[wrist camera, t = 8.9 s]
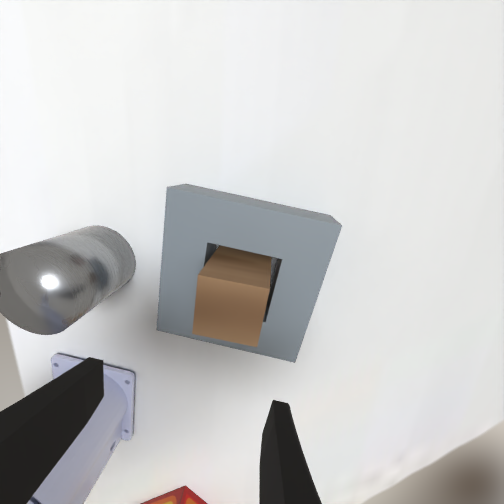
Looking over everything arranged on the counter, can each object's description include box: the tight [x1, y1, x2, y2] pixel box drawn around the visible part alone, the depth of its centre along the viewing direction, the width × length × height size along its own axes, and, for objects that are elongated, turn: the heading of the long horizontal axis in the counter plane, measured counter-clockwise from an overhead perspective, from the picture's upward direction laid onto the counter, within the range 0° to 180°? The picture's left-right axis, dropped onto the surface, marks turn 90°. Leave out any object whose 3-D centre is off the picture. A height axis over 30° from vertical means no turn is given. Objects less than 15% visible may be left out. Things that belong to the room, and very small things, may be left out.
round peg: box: [0, 226, 136, 335], centre depth 16 cm, size 5×5×6 cm
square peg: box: [192, 245, 272, 347], centre depth 15 cm, size 4×4×6 cm
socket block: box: [157, 184, 342, 362], centre depth 16 cm, size 10×10×3 cm
